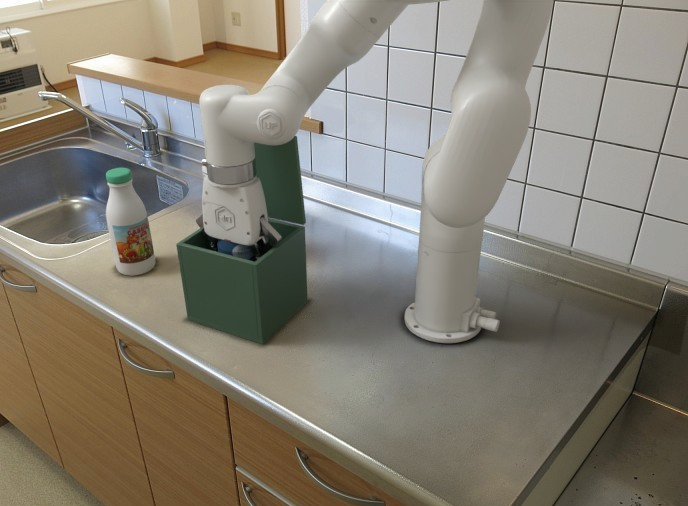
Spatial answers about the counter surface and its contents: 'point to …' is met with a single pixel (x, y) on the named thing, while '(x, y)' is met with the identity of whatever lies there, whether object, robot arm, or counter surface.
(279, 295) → the bread box
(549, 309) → the counter surface
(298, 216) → the bread box lid
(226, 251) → the soda can
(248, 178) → the robot arm
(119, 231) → the milk bottle
